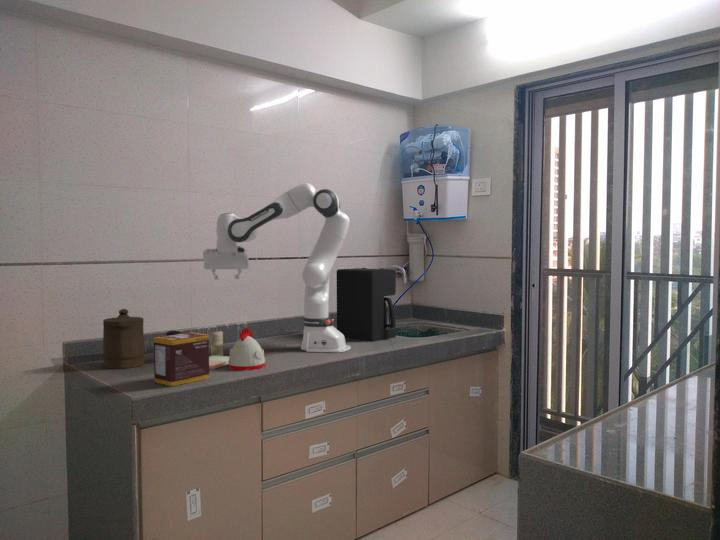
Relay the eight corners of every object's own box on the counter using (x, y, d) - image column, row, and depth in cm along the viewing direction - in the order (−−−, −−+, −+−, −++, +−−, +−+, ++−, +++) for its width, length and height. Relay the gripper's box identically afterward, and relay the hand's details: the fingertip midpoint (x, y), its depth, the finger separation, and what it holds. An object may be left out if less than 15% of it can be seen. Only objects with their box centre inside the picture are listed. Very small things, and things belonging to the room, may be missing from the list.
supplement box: (210, 378, 199) (209, 334, 198) (171, 387, 186) (171, 340, 186) (192, 374, 205) (191, 331, 204) (153, 382, 193) (153, 337, 192)
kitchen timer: (221, 369, 214) (220, 329, 213) (241, 362, 227) (240, 325, 226) (253, 371, 209) (252, 331, 208) (271, 364, 222) (271, 326, 221)
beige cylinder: (225, 354, 242) (225, 331, 242) (218, 356, 238) (218, 333, 237) (215, 354, 244) (215, 331, 244) (208, 356, 239) (208, 332, 239)
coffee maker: (403, 337, 286) (403, 268, 285) (378, 342, 272) (378, 270, 270) (361, 332, 305) (361, 267, 303) (336, 336, 290) (336, 268, 289)
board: (238, 360, 231) (238, 357, 231) (213, 369, 214) (213, 365, 214) (213, 358, 235) (213, 355, 235) (186, 367, 218) (186, 363, 218)
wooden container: (139, 359, 232) (138, 306, 232) (148, 365, 220) (147, 309, 219) (100, 363, 224) (99, 308, 223) (107, 370, 212) (106, 312, 211)
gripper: (203, 248, 251) (204, 280, 251) (249, 249, 259) (250, 279, 259) (202, 248, 257) (202, 279, 257) (247, 248, 264) (247, 278, 265)
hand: (226, 279), depth 258 cm, fingers open, 8 cm apart
